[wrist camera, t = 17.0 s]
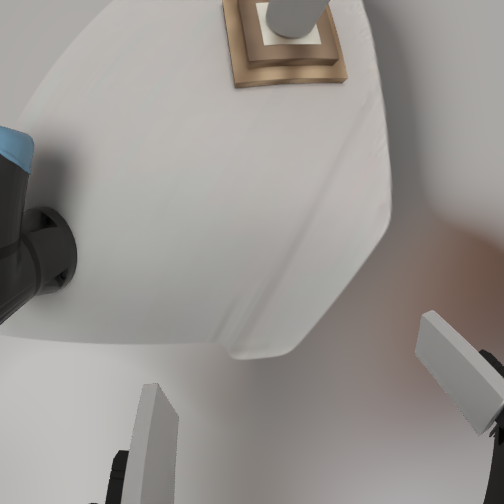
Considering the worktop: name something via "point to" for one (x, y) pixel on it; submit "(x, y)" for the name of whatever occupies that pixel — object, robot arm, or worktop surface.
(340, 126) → the worktop surface
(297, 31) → the beverage can
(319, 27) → the pedestal
